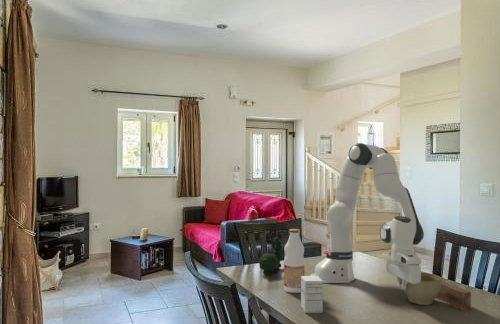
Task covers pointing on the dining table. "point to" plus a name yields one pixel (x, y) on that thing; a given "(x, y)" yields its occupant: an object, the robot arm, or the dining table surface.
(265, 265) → the green shrub
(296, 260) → the fruit juice
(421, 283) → the planter bowl
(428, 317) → the dining table surface
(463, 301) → the board
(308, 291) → the supplement box
